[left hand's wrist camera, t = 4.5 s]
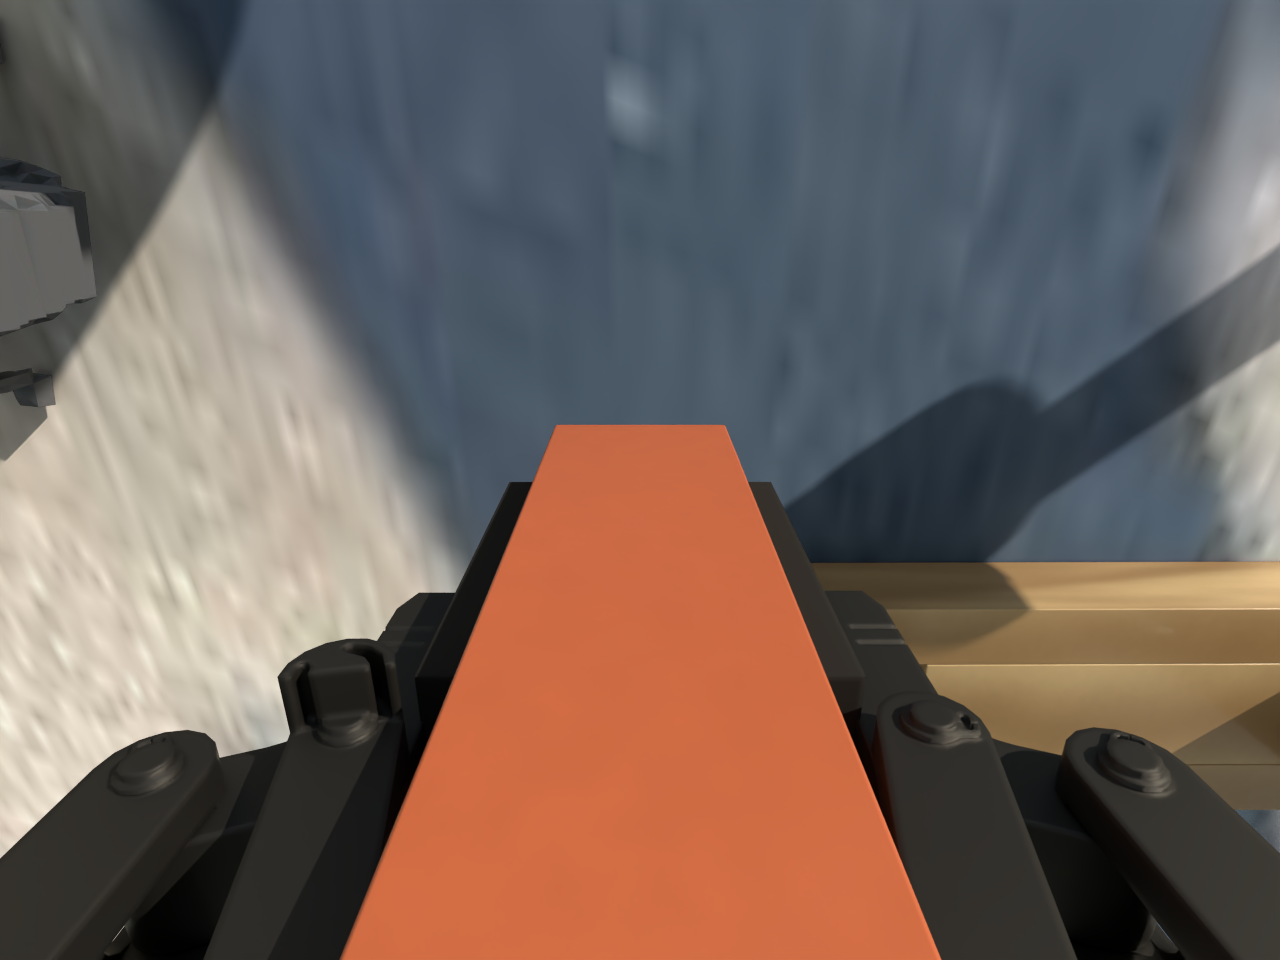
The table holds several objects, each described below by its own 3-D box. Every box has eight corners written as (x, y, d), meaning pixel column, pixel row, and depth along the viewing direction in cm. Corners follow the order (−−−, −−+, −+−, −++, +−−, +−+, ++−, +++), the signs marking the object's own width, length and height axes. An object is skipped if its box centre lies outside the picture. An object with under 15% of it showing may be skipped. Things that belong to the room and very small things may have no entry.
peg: (554, 424, 16) (190, 1313, 3) (725, 424, 16) (1091, 1313, 3) (561, 575, 18) (333, 1619, 4) (718, 575, 18) (947, 1619, 4)
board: (658, 562, 30) (672, 763, 19) (1432, 560, 30) (1908, 758, 19) (656, 747, 33) (667, 1010, 22) (1352, 744, 34) (1713, 1004, 22)
